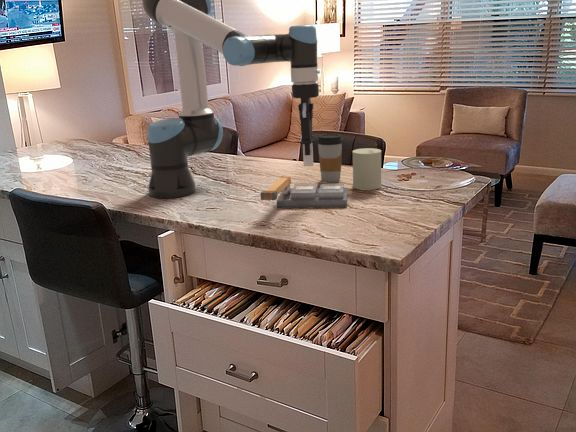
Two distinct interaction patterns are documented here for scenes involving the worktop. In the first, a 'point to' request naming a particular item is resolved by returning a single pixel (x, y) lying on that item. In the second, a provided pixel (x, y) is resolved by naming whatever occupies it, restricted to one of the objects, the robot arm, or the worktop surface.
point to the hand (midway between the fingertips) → (308, 165)
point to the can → (367, 169)
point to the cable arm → (276, 188)
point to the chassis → (313, 196)
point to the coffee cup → (330, 157)
